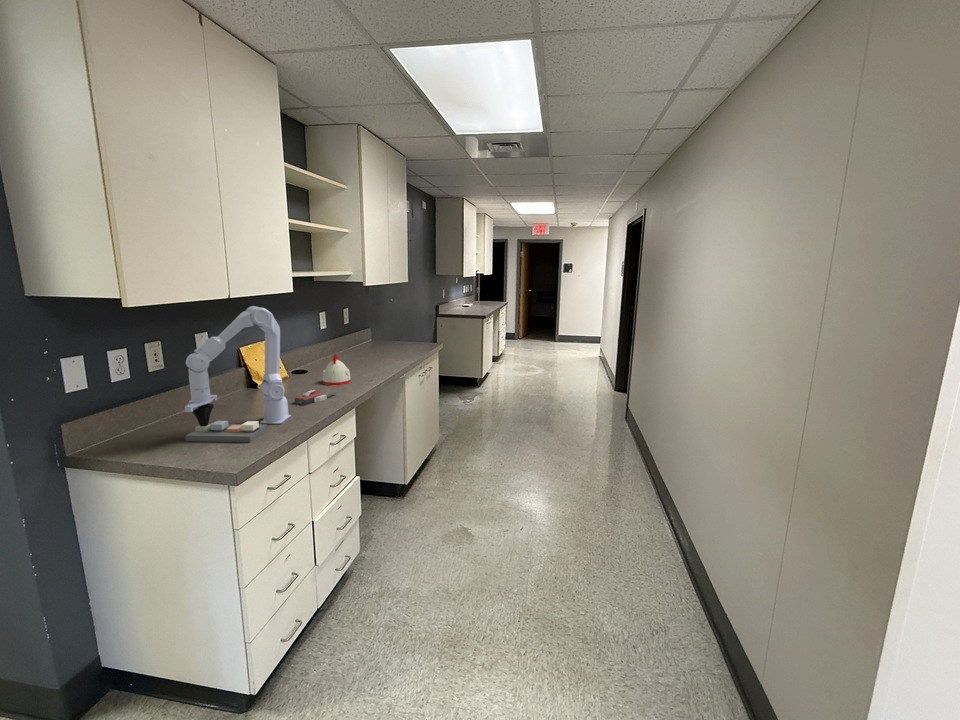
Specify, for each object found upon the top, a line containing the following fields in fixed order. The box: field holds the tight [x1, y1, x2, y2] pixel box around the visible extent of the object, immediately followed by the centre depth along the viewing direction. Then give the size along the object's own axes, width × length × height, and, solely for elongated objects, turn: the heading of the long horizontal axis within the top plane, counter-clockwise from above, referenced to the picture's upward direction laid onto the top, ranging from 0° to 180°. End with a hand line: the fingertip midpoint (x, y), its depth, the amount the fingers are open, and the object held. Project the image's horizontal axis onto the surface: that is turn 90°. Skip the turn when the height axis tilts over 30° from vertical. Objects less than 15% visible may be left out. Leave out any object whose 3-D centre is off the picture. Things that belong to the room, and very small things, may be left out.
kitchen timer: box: [322, 353, 352, 386], centre depth 230 cm, size 14×14×15 cm
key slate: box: [209, 420, 230, 432], centre depth 156 cm, size 4×4×3 cm
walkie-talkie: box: [294, 389, 338, 406], centre depth 201 cm, size 9×4×20 cm
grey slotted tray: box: [185, 423, 268, 443], centre depth 156 cm, size 12×22×2 cm, turn 89°
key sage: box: [194, 423, 211, 432], centre depth 156 cm, size 4×4×3 cm
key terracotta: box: [226, 425, 242, 432], centre depth 156 cm, size 4×4×3 cm
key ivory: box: [241, 420, 260, 433], centre depth 156 cm, size 4×4×3 cm
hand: (204, 425), depth 156 cm, fingers closed, pressing on key sage
